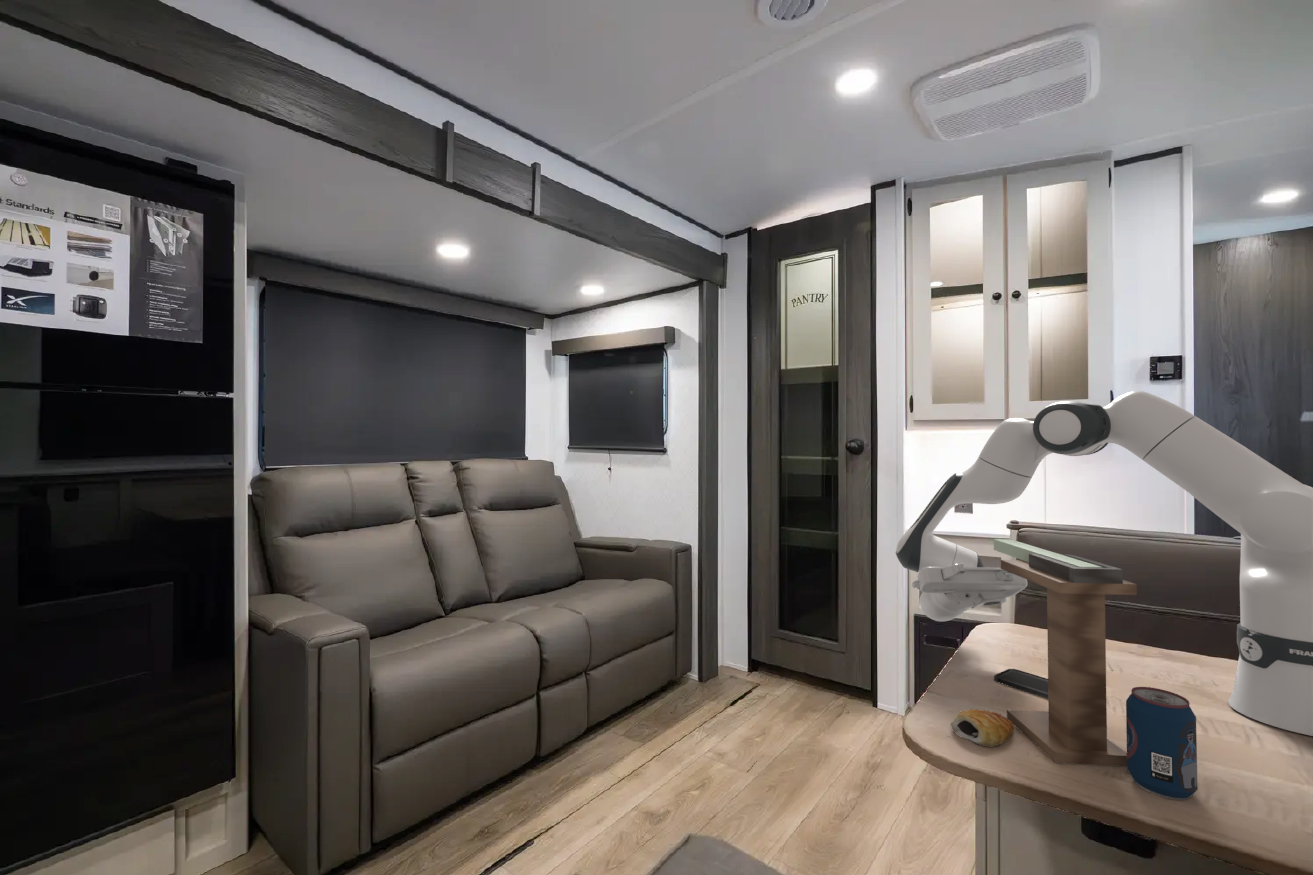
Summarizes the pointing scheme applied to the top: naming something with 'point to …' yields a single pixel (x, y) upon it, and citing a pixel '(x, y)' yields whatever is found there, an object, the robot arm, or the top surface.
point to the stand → (1073, 660)
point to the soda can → (1161, 742)
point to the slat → (1034, 552)
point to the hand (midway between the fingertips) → (985, 567)
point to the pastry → (983, 727)
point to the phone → (1024, 681)
